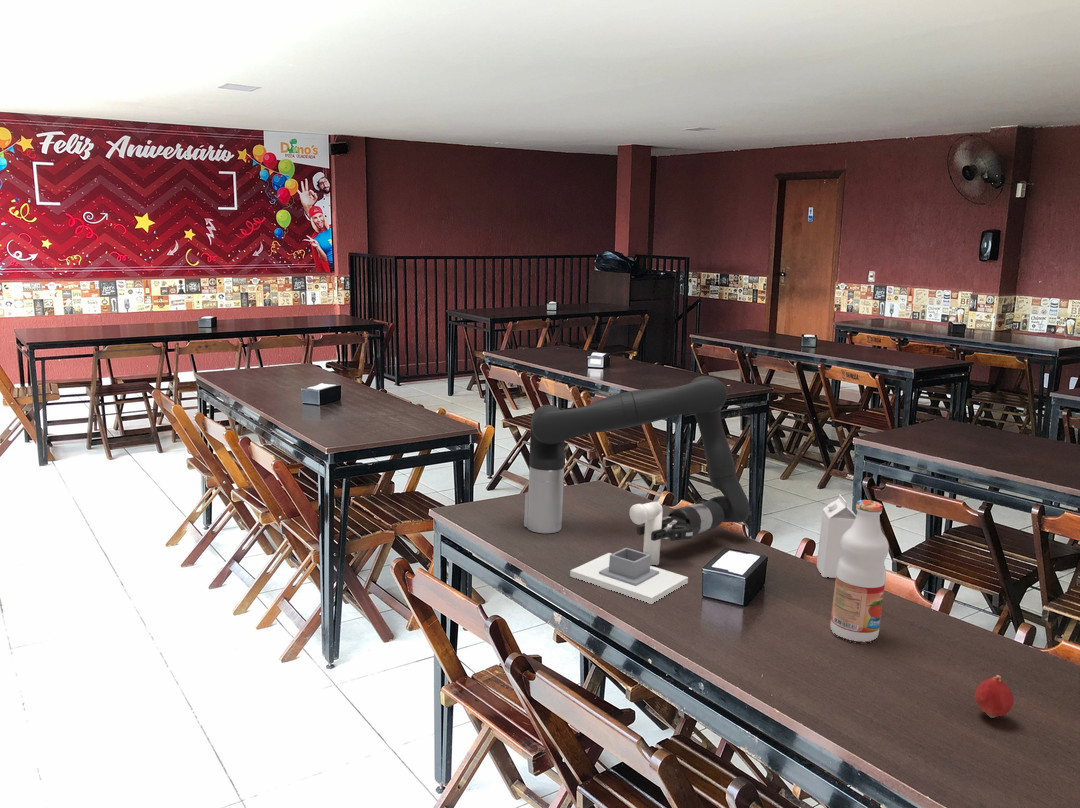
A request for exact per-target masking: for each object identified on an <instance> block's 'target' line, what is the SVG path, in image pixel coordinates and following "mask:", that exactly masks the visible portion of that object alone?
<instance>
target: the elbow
mask: <svg viewBox="0 0 1080 808" xmlns="http://www.w3.org/2000/svg"><path fill="white" fill-rule="evenodd" d="M663 511H664V510H663V506H662V504H661V503H660V502H658V501H651V502H646V503H636V504H633V505H631V507H630V508H629V517H630V519H631V521H632V523H634V524H636V525H638V526H641V525H643V523H645V532H644V534H643V551H642V553H646V554H649V555H651V559H650V565H656V566H658V565H659V564H660V554H661V542H662V541H661V540H662V539H659V540H656V541H653V540H651V533H652V532H653V531H656V530H659V529H661V528H662V517H663V514H664V512H663Z"/></svg>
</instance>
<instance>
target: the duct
mask: <svg viewBox="0 0 1080 808" xmlns="http://www.w3.org/2000/svg"><path fill="white" fill-rule="evenodd" d="M650 559H651V555H649V554H646V553H643V551H642V552H641V551H639V550H636V549H632V548H630V547H624V548H621V549H620V550H618V551H615V552H613V553H611V552H607V553H605V554H603V555H601V556H599V557H596V558H595V559H591V560H590V561H588V562H586V563H584V564H582V565H580V566H577V567H575V568H572V569H570V570H569V577H570V578H573V579H576V578H577V579H576V580H578V579H579V581H581V580H583V581H582V582H584V581H585V583H587V582H588V584H590V583H592V584H591V585H593V584H594V586H596V585H597V586H596V587H599V586H600V587H599V588H602V589H606V590H608V591H611V590H612V591H611V592H614V591H615V592H614V593H616V592H618V593H617V594H619V593H621V594H620V595H622V594H624V595H623V596H625V595H626V597H628V596H629V598H631V597H632V599H634V598H635V599H634V600H637V599H638V601H640V600H641V601H640V602H643V601H644V602H643V603H646V602H647V604H649V605H653V604H655V603H657V602H658V601H660V600H661V598H662V599H663V598H665V597H667V596H669V595H670V594H672V593H673V591H674V590H675V591H677V590H679V589H681V588H682V587H684V586H686V585H687V584H688V583H689V577H688V576H685V575H682V574H679V573H676V572H674V571H673V572H672V571H669V570H667V569H666V570H665V569H663V568H660V567H656V566H650ZM685 584H686V585H685ZM683 585H684V586H683ZM681 586H682V587H681ZM680 587H681V588H680ZM678 588H679V589H678ZM676 589H677V590H676ZM675 591H674V592H675ZM671 592H672V593H671ZM669 593H670V594H669ZM668 594H669V595H668ZM666 595H667V596H666ZM664 596H665V597H664ZM659 599H660V600H659ZM656 601H657V602H656ZM654 602H655V603H654Z"/></svg>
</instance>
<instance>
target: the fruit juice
mask: <svg viewBox="0 0 1080 808" xmlns="http://www.w3.org/2000/svg"><path fill="white" fill-rule="evenodd" d="M855 510H856V514H855V515H856V518H855V521H854V523H853V525H852V526H851V528H850V529H848V530H847V531H846V532H845V533H844V535H843V536H842V539H841V552H842V556H841V558H840V560H839V562H838V566H837V571H836V578H835V582H834V590H833V598H832V605H831V615H830V625H829V626H830V631H831V630H832V631H831V633H833V634H834V633H835V634H836V635H838V636H840V637H843V638H846V639H849V640H854V641H863V642H865V641H871V640H874V639H876V638H877V639H878V636H879V632H880V624H881V618H882V611H883V603H884V596H885V587H886V586H885V585H886V579H887V578H886V577H887V568H886V564H885V561H886V559H887V557H888V554H889V549H890V548H889V547H890V546H889V541H888V539H887V537H886V536H885V534H884V533H883V531H882V528H881V521H880V515H881V514H882V511H883V505H882V503H880V502H879V501H874V500H869V499H868V500H867V499H859V500H857V502H856V503H855ZM835 634H834V635H835ZM836 635H835V636H836ZM838 636H837V637H838ZM877 639H876V640H877Z"/></svg>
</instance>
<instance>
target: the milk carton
mask: <svg viewBox="0 0 1080 808" xmlns="http://www.w3.org/2000/svg"><path fill="white" fill-rule="evenodd" d="M821 514H822V515H821V523H820V532H819V540H818V549H817V558H816V559H817V560H816V568H817V570H818V572H819V573H821V574H820V575H821V577H822V578H827V577H829V578H830V579H836V571H837V566H838V562H839V560H840V558H841V556H842V552H841V539H842V536H843V535H844V533H845V532H846V531H847V530H848V529H850V528H851V526H852V525H853V523H854V521H855V518H856V515H857V514H855V512H854V511H853V509H851V508H850V507H849V506H848V502H847V501H846V500H845V498H844V497H843V496H842V495H841V493H840V494H838V498H837V499H835V500H833V501H832V502H830V503H828V505H826V506H824V508H823V509H822V513H821Z"/></svg>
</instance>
